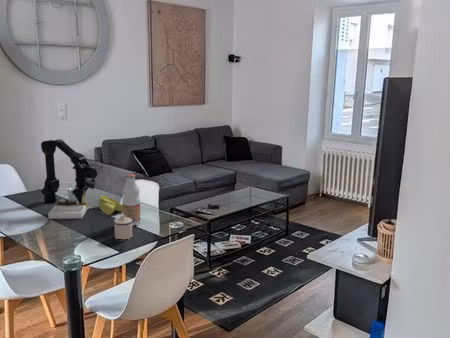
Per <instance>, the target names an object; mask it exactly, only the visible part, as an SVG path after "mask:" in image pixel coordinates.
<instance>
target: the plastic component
mask: <svg viewBox="0 0 450 338" xmlns="http://www.w3.org/2000/svg"><path fill="white" fill-rule="evenodd" d="M98 209H100V210H101V211H102V212H103V213H104V214H106V215H107V216H111V215H113V214H114V212H115V211H116V212H117V211H118V212H121V213H123V203H120V202H118V201H117V200H115V199H114V198H111V197H109V196H107V195H106V196H105V195H102V194H100V195H99V197H98ZM101 211H100V212H101Z"/></svg>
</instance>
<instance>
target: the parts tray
mask: <svg viewBox="0 0 450 338" xmlns="http://www.w3.org/2000/svg"><path fill="white" fill-rule="evenodd" d="M47 213H48V214H47V215H48V220H74V219H75V220H76V219H77V220H78V219H79V220H80V219H83V217H84V216H85V215H86V213H87V211H86V206H56V205H54V206H53V207H52V209H51V210H49V211H48V212H47Z"/></svg>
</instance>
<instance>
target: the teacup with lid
mask: <svg viewBox="0 0 450 338" xmlns="http://www.w3.org/2000/svg"><path fill="white" fill-rule="evenodd" d="M113 224H114V225H113V226H114V238H115V240H117V239H128V240H130V239H131V238H130V237H132V238H133V226H132V219H131V218H127V217H125V215H123V214H122V215H121V216H120V217H118V218H116V219H114V220H113ZM129 238H130V239H129Z"/></svg>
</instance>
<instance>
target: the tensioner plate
mask: <svg viewBox="0 0 450 338" xmlns="http://www.w3.org/2000/svg"><path fill="white" fill-rule="evenodd" d="M90 204H91V203H90V201H85V205H80V203H79V202H78V200H77V199H73V198H72V199H60V200H57V201H56V205H55V206H86V212H87V211H88V210H89V208H90Z"/></svg>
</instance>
